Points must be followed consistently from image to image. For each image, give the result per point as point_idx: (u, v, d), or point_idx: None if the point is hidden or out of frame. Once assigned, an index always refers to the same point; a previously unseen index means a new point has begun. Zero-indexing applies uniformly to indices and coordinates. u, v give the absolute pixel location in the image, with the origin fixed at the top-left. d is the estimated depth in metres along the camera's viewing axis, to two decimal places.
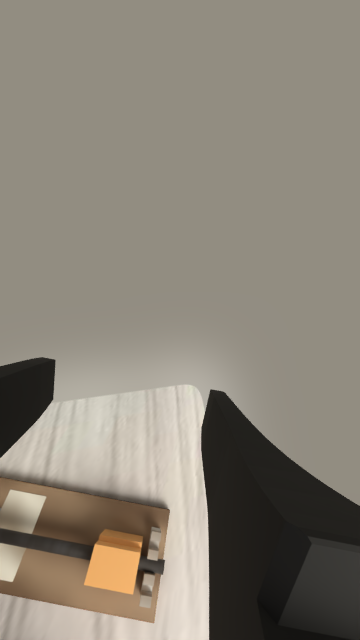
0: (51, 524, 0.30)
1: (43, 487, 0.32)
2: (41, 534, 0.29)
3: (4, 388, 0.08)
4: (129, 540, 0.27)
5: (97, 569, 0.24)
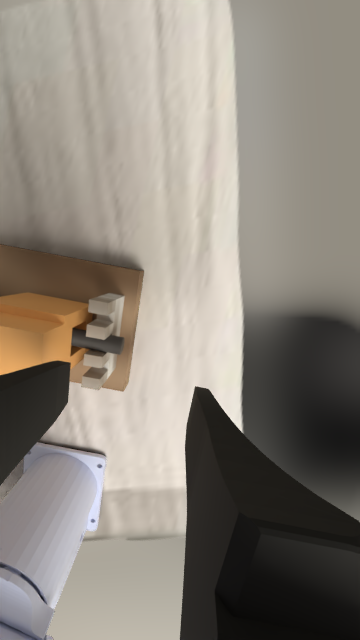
0: None
1: None
2: None
3: (25, 391, 0.08)
4: (41, 311, 0.13)
5: None
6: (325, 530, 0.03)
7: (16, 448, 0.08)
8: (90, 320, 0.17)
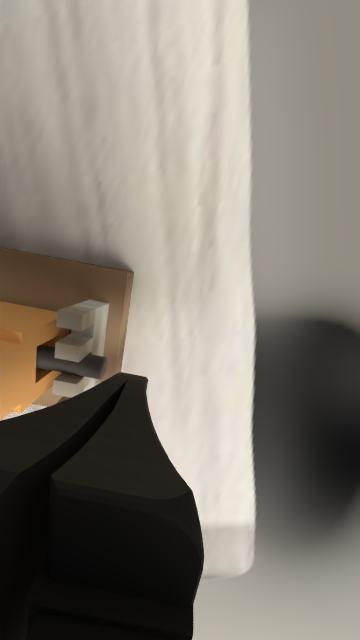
0: None
1: None
2: None
3: (108, 407, 0.08)
4: None
5: None
6: (132, 493, 0.03)
7: None
8: (66, 333, 0.14)
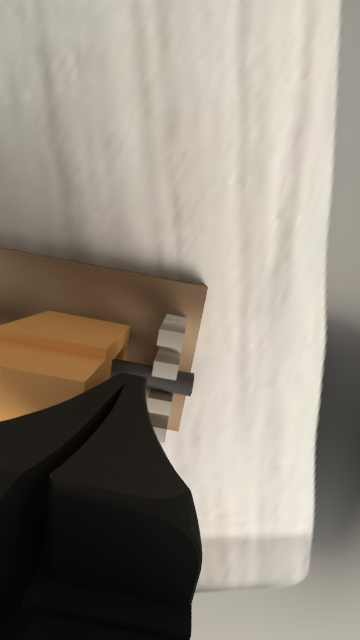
0: None
1: None
2: None
3: (109, 408, 0.08)
4: (73, 342, 0.10)
5: None
6: (130, 493, 0.03)
7: None
8: (126, 345, 0.14)
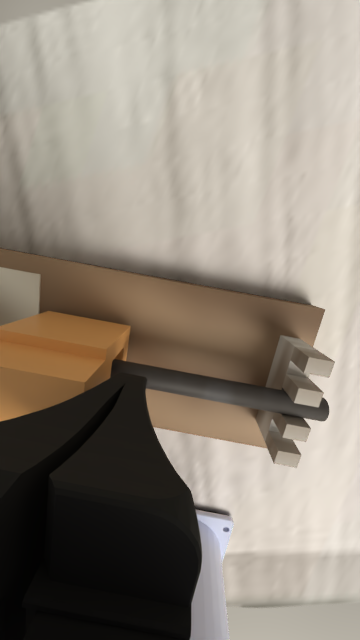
0: None
1: (27, 257, 0.14)
2: None
3: (109, 408, 0.08)
4: (74, 342, 0.10)
5: None
6: (130, 493, 0.03)
7: None
8: (126, 345, 0.14)
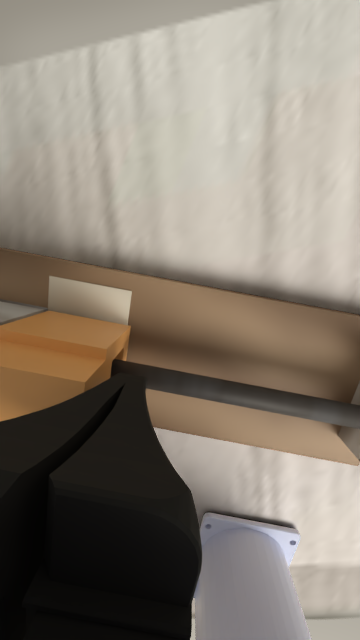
0: (157, 338, 0.14)
1: (119, 274, 0.14)
2: (143, 352, 0.15)
3: (109, 407, 0.08)
4: (74, 342, 0.10)
5: None
6: (130, 493, 0.03)
7: None
8: (126, 345, 0.14)
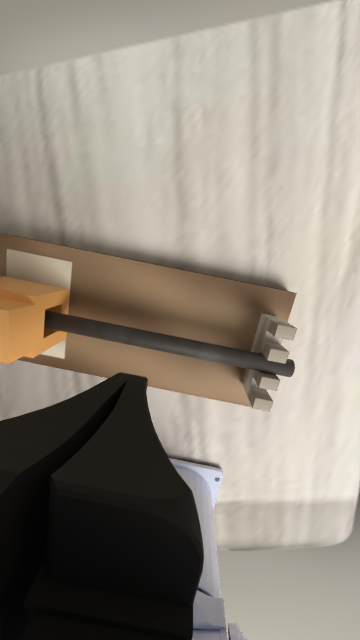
0: (94, 300, 0.18)
1: (62, 247, 0.17)
2: (83, 312, 0.18)
3: (108, 407, 0.08)
4: (12, 291, 0.14)
5: None
6: (132, 493, 0.03)
7: None
8: (67, 304, 0.17)
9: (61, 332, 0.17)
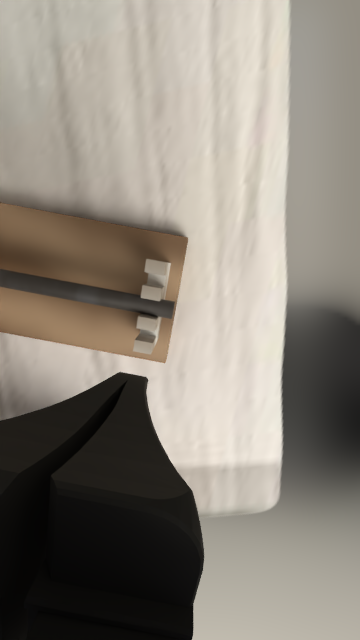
0: None
1: None
2: None
3: (108, 407, 0.08)
4: None
5: None
6: (132, 493, 0.03)
7: None
8: None
9: None
